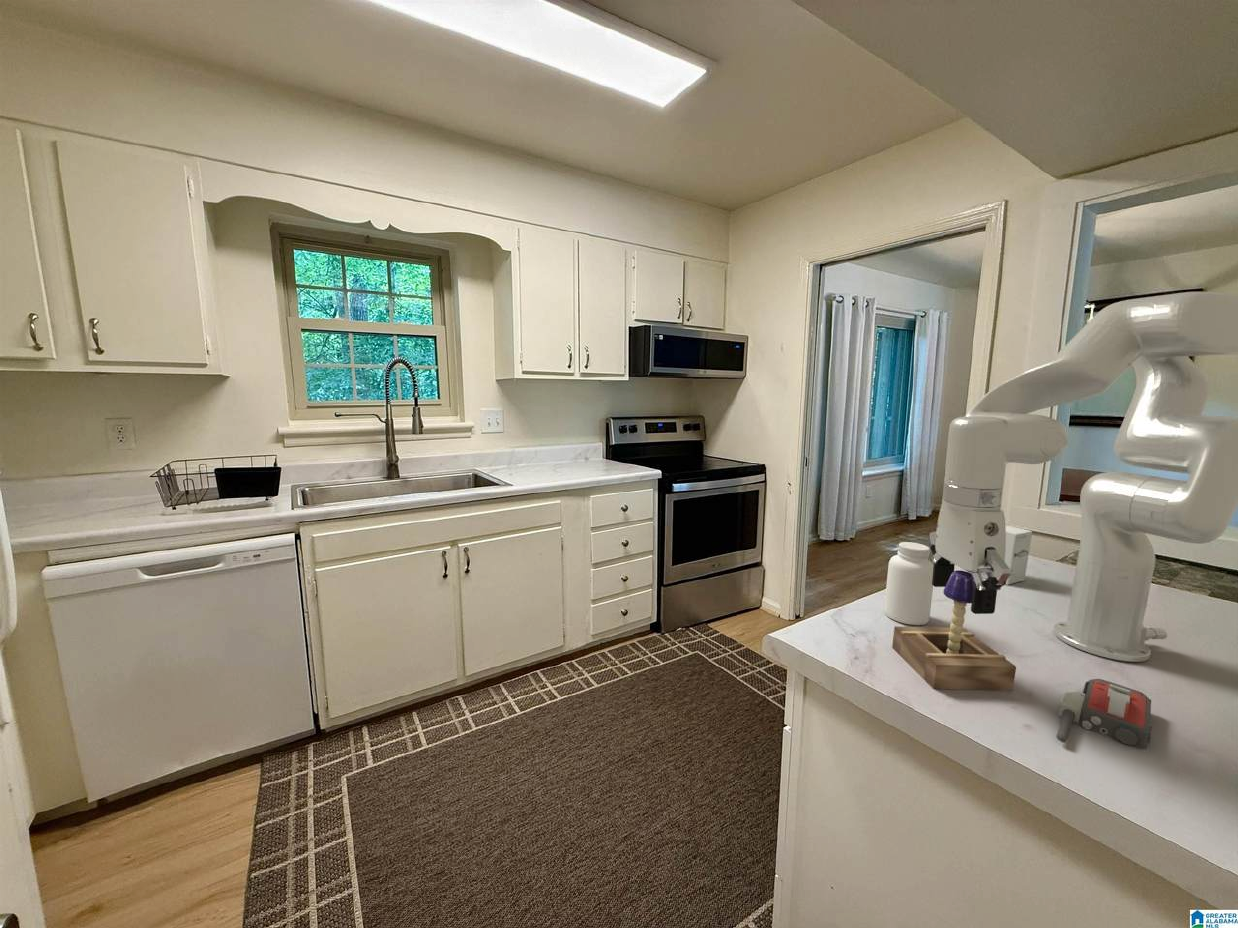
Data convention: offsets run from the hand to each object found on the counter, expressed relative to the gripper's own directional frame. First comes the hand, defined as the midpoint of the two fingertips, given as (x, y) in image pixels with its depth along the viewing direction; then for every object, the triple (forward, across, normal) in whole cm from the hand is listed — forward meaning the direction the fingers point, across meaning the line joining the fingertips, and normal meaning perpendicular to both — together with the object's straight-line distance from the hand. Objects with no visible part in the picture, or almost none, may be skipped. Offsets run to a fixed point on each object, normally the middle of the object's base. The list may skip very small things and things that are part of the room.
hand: (961, 598), depth 79 cm
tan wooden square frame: (+12, 0, +1) cm, 12 cm away
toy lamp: (+12, -1, +1) cm, 12 cm away
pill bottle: (+12, +18, -2) cm, 22 cm away
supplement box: (+14, +40, -37) cm, 56 cm away
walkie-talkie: (+13, -14, -11) cm, 22 cm away
